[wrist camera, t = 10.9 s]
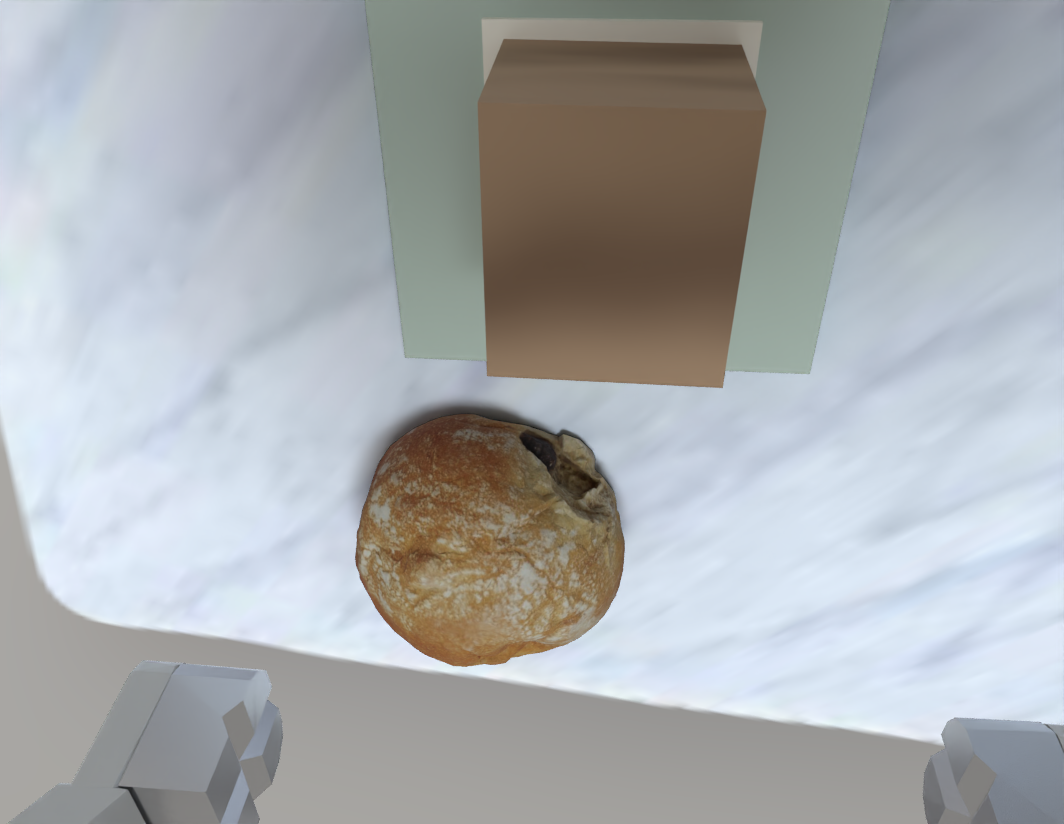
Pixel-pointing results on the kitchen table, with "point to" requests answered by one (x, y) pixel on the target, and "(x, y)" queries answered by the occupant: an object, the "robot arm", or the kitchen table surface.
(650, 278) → the walnut block
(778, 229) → the mat
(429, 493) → the bread roll
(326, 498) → the kitchen table surface
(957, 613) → the kitchen table surface
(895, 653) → the kitchen table surface
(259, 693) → the robot arm
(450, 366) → the kitchen table surface
